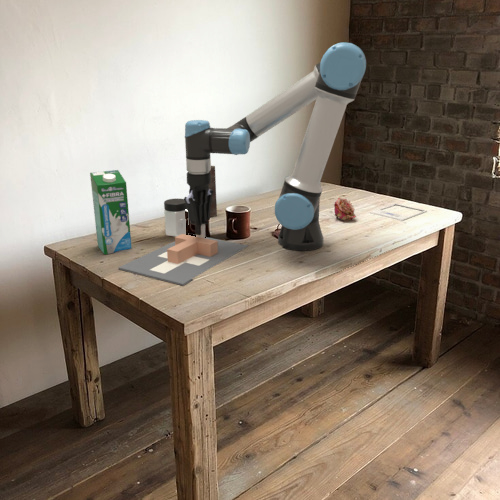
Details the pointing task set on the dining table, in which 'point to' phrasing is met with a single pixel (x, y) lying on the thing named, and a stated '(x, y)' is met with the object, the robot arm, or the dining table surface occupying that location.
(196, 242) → the t block
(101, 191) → the milk carton
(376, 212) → the photo frame
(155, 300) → the dining table surface
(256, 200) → the dining table surface
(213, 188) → the candle
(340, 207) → the flower
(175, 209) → the jar
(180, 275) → the mat
